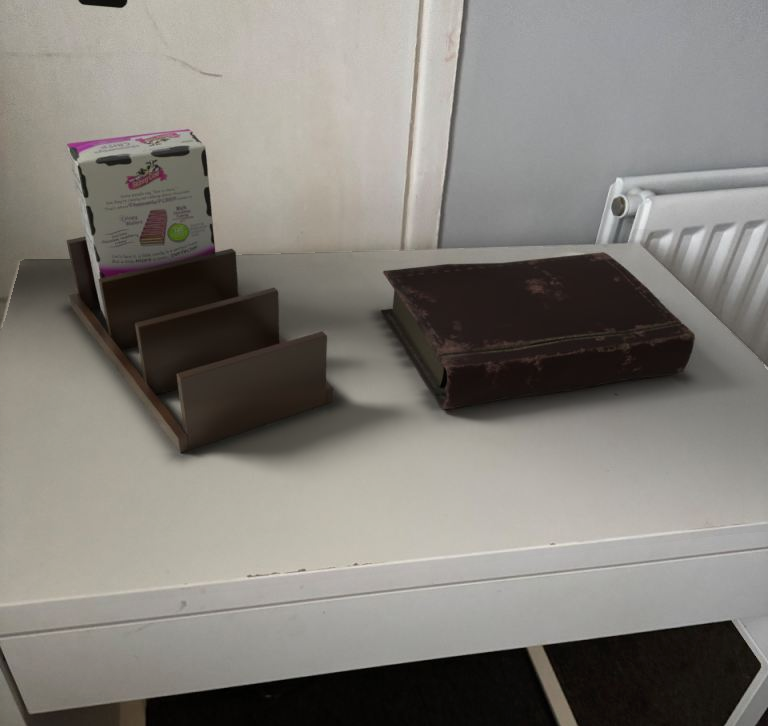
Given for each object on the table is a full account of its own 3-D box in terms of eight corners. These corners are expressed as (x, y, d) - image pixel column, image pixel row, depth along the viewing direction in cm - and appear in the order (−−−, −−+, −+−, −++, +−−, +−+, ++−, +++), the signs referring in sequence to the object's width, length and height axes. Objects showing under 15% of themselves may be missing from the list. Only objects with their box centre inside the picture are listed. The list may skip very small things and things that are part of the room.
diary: (684, 380, 80) (701, 335, 77) (444, 418, 73) (450, 370, 70) (589, 286, 93) (600, 243, 89) (377, 311, 86) (380, 266, 82)
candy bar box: (206, 290, 87) (191, 126, 75) (222, 313, 84) (209, 145, 72) (97, 310, 82) (64, 139, 71) (110, 335, 79) (77, 161, 68)
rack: (72, 308, 82) (57, 241, 78) (207, 275, 89) (202, 212, 84) (180, 453, 68) (170, 381, 63) (333, 401, 74) (335, 333, 69)
